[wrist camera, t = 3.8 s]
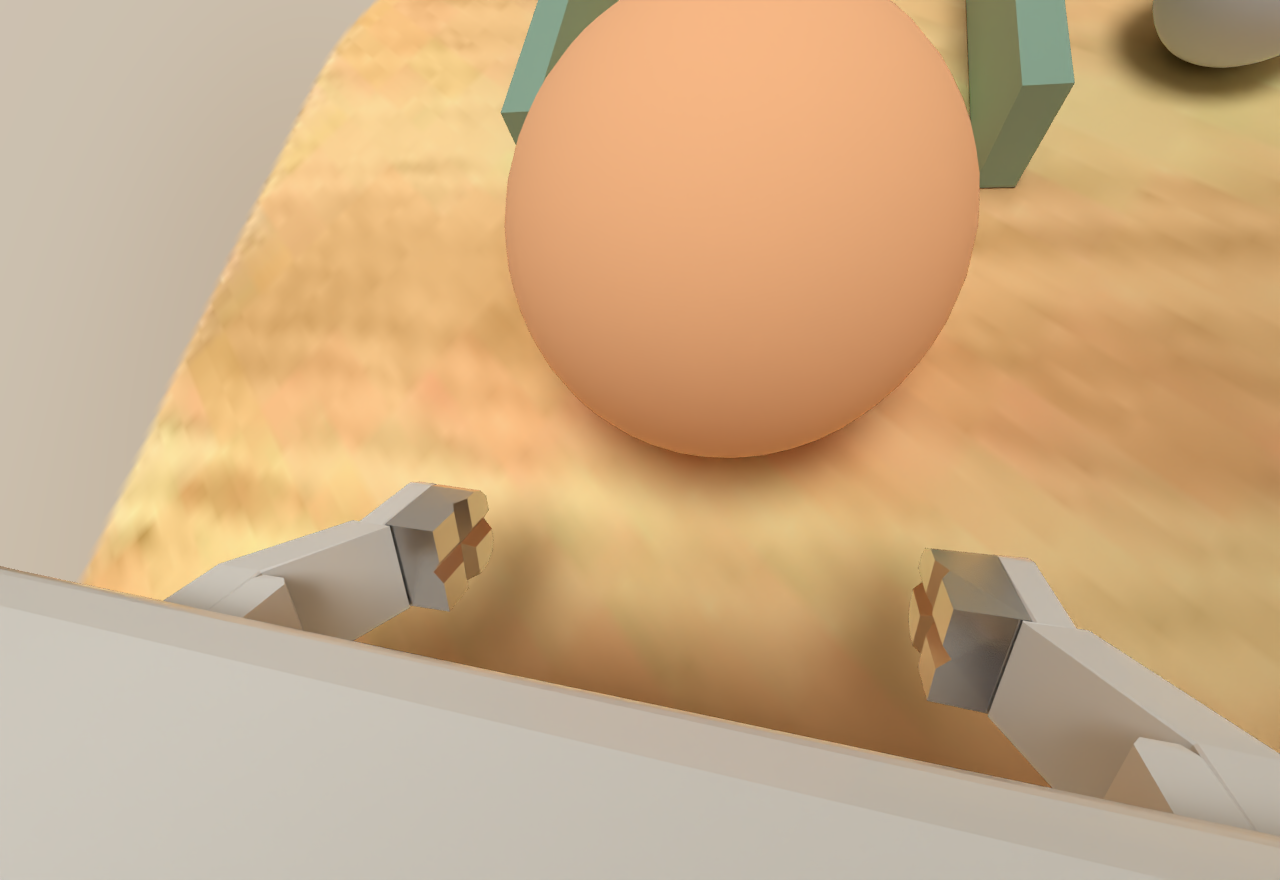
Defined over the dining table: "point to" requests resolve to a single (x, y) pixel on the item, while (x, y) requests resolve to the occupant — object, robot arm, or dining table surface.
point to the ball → (741, 216)
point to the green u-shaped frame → (997, 57)
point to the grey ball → (1219, 30)
